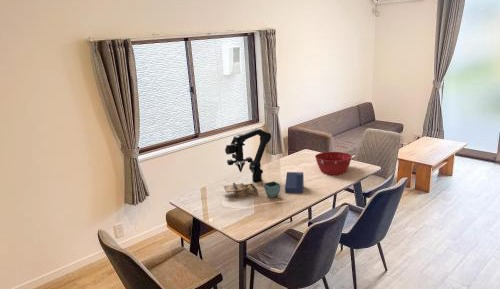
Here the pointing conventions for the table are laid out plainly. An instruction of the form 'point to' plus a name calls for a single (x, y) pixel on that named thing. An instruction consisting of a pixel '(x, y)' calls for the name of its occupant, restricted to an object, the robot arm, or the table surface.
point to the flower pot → (272, 189)
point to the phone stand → (294, 182)
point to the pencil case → (246, 192)
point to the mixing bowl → (333, 162)
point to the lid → (235, 187)
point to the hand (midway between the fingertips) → (240, 172)
